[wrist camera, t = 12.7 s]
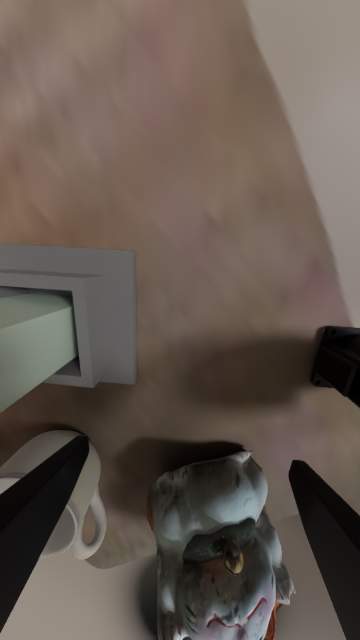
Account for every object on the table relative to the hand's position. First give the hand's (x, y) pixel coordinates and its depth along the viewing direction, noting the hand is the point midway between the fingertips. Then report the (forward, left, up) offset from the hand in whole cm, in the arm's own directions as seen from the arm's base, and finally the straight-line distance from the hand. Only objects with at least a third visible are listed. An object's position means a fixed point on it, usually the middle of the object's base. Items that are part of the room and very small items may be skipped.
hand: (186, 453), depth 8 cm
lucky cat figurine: (-4, +19, -12) cm, 23 cm away
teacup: (+14, +18, -12) cm, 26 cm away
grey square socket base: (+13, -2, -12) cm, 18 cm away
